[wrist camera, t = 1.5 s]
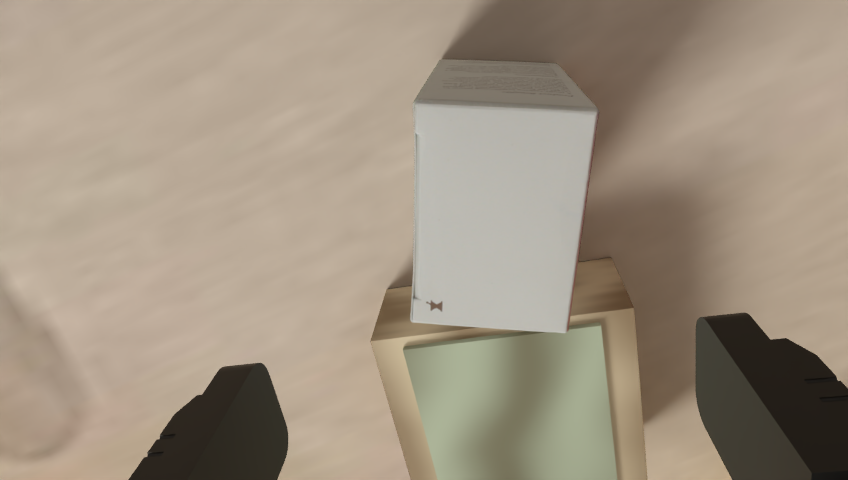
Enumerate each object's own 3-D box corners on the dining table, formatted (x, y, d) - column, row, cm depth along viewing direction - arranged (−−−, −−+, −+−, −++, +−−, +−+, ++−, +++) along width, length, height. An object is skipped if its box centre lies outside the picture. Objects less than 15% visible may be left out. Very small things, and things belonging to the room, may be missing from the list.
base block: (611, 257, 30) (635, 311, 25) (627, 436, 34) (651, 511, 30) (386, 289, 32) (369, 345, 27) (430, 454, 36) (422, 526, 32)
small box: (542, 223, 29) (569, 341, 20) (432, 217, 30) (408, 329, 20) (561, 59, 26) (606, 107, 17) (437, 55, 27) (411, 98, 17)
